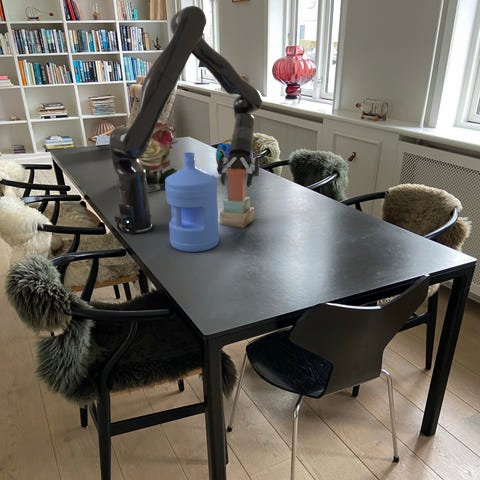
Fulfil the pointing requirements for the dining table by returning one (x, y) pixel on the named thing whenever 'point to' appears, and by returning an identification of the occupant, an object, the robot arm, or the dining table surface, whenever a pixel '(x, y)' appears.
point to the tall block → (236, 184)
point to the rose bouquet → (158, 156)
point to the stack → (237, 213)
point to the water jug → (192, 208)
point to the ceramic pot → (225, 151)
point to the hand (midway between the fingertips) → (235, 185)
